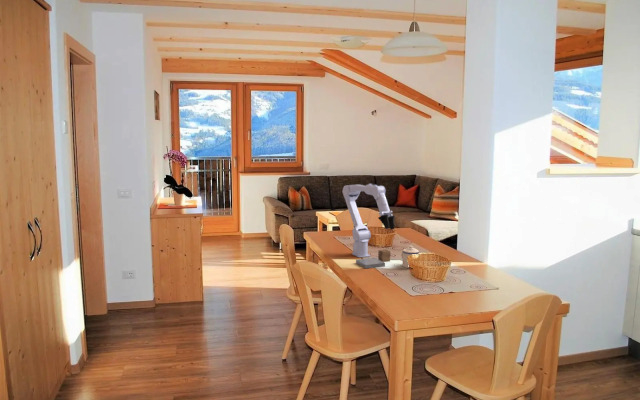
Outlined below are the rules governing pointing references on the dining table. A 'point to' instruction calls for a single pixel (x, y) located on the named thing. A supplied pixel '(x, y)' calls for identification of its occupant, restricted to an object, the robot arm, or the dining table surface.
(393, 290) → the dining table surface
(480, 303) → the dining table surface
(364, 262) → the slate trivet
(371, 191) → the robot arm
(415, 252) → the teacup with lid
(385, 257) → the walnut block
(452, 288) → the dining table surface
